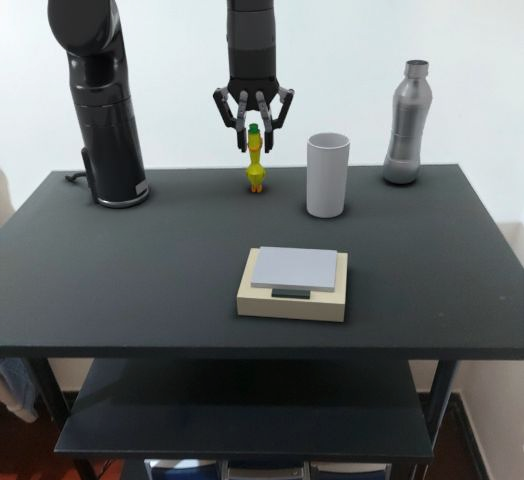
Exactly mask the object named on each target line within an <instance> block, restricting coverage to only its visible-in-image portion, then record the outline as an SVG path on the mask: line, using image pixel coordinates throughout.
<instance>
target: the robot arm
mask: <svg viewBox="0 0 524 480" xmlns="http://www.w3.org/2000/svg"><path fill="white" fill-rule="evenodd" d="M225 2H226V35H225V36H226V37H225V39H226V43H227V55H228V56H227V57H228V75H229V79H228V82H227V85H226V86H223V87H216V88H215V90H214V91H213V93H212V98H213V101H214V104H215V105H216V109H217V110H218V112H219V115H220V117H221V120H222V121H223V123H224V126H225V127H226V129H227V128H228V129H230V128H231V129H234V131H235V132H236V145H237V146H236V147H237V150H240V152H241V154H246V153H247V150H248V146H247V143H248V132H247V127H246V126H245V125H246V119H247V113H248V112H251V111H255V112H260V117H261V120H262V123H263V127H264V131H263V132H264V133H263V136H264V137H263V145H264V154H270V151H272V150H273V147H274V145H275V141H274V140H275V137H274V136H275V135H274V133H275V132H274V131H275V130H280V129H282V128H283V126H284V124H285V121H286V118H287V116H288V113H289V111H290V108H291V105H292V102H293V100H294V97H295V94H296V93H295V90H294V88H288V89H287V88H285V87H282V86H281V85H280V82H279V80H278V78H277V77H278V76H277V23H276V22H277V21H276V15H275V0H226V1H225ZM46 14H47V21H48V25H49V28H50V31H51V34H52V36H53V37H54V39H55V41H56V42H57V43H58V44H59V45H60V47H61V48H62V49H63V50H65V53H66V59H67V63H68V87H69V91H70V95H71V98H72V101H73V103H72V104H73V107H74V110H75V114H76V118H77V122H78V127H79V130H80V134H81V138H82V142H83V146H84V147H82V148H81V149H80V154H81V158H82V162H83V167H84V169H85V171H84V172H77V173H74V174H73V175H72V176H70V175H67V174H66V175H65V176H64V179H65V180H67V181H70V182H74V181H75V180H76V179H77V178H83V177H85V178H86V179H85V180H86V182H87V186H88V188H89V190H90V193H91V198H92V201H93V203H94V204H100V205H101V206H103V207H106V208H113V209H114V208H115V209H119V208H121V209H122V208H128V207H133V206H136V205H138V204H140V203H143V202H144V201H145V200H146V199H147V198H148V197H149V195H150V190H149V183H148V179H147V177H146V170H145V165H144V160H143V153H142V149H141V142H140V137H139V132H138V128H137V127H138V126H137V121H136V115H135V110H134V104H133V98H132V92H131V87H130V79H129V78H130V77H129V76H130V75H129V64H128V59H127V53H126V52H127V51H126V46H125V45H126V44H125V39H124V32H123V26H122V21H121V16H120V12H119V8H118V4H117V1H116V0H47V7H46ZM229 95H230V96H231V98H232V99H233V100H234V102H235V103H236V104H237V111H236V112H237V113H236V117H235V116H234V114H233V112H232V110H231V108H230V105H229V103H228V100H229ZM277 95H278V96H279V103H280V104H282V105H281V108H280V110H279V113H278V117H277V118H275V119H274V118H273V113H272V106H271V104H272V102H273V101H274V99H275V98H276V96H277Z"/></svg>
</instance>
